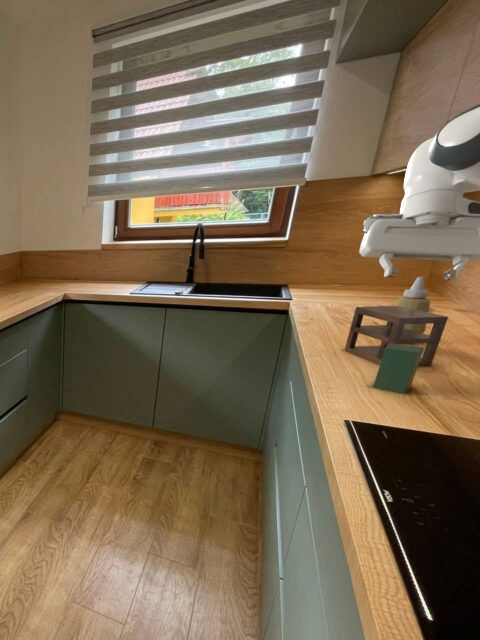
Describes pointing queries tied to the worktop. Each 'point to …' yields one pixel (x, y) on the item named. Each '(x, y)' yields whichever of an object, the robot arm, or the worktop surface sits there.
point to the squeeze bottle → (415, 302)
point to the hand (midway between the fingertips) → (419, 277)
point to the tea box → (398, 367)
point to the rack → (395, 331)
